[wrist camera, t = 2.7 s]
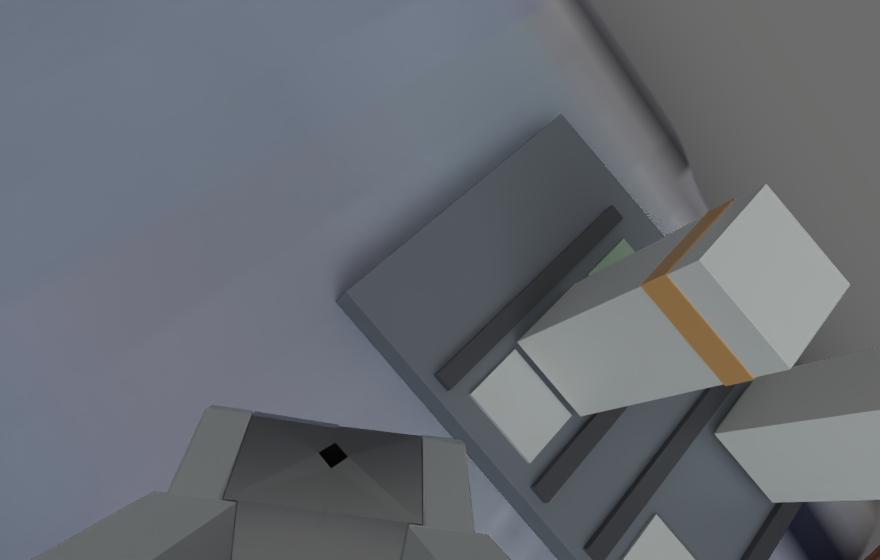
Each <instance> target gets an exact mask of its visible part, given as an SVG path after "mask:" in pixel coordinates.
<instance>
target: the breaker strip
mask: <svg viewBox="0 0 880 560" xmlns="http://www.w3.org/2000/svg"><path fill="white" fill-rule="evenodd" d="M663 237H664V236H663V235H662V233H661V232H660V231H659V230H658V229H657V227H656V226H655V225H654V224H653V223H652V221H651V220H650V219H649V218H648V217H647V216H646V214H645V213H644V212H643V211H642V210H641V208H640V207H639V206H638V205H637V204H636V202H635V201H634V200H633V199H632V198H631V197H630V195H629V194H628V193H627V192H626V191H625V189H624V188H623V187H622V186H621V185H620V183H619V182H618V181H617V180H616V179H615V177H614V176H613V175H612V174H611V173H610V172H609V170H608V169H607V168H606V167H605V166H604V164H603V163H602V162H601V161H600V160H599V158H598V157H597V156H596V155H595V154H594V152H593V151H592V150H591V149H590V148H589V147H588V145H587V144H586V143H585V142H584V141H583V139H582V138H581V137H580V136H579V135H578V133H577V132H576V131H575V130H574V129H573V128H572V126H571V125H570V124H569V123H568V122H567V120H566V119H565V118H564V117H563V116H562V114H560V115H559V116H558V117H557V118H556V119H554V120H553V121H552V122H551V123H550V124H548V125H547V126H546V127H545V128H543V129H542V130H541V131H540V132H539V133H537V134H536V135H535V136H534V137H533V138H531V139H530V140H529V141H528V142H526V143H525V144H524V145H523V146H522V147H520V148H519V149H518V150H517V151H516V152H514V153H513V154H512V155H511V156H509V157H508V158H507V159H506V160H505V161H503V162H502V163H501V164H500V165H499V166H497V167H496V168H495V169H494V170H492V171H491V172H490V173H489V174H488V175H486V176H485V177H484V178H483V179H482V180H480V181H479V182H478V183H477V184H476V185H474V186H473V187H472V188H471V189H469V190H468V191H467V192H466V193H465V194H463V195H462V196H461V197H460V198H459V199H457V200H456V201H455V202H454V203H452V204H451V205H450V206H449V207H448V208H446V209H445V210H444V211H443V212H442V213H440V214H439V215H438V216H437V217H435V218H434V219H433V220H432V221H431V222H429V223H428V224H427V225H426V226H425V227H423V228H422V229H421V230H420V231H418V232H417V233H416V234H415V235H414V236H412V237H411V238H410V239H409V240H408V241H406V242H405V243H404V244H403V245H402V246H400V247H399V248H398V249H397V250H395V251H394V252H393V253H392V254H391V255H389V256H388V257H387V258H386V259H385V260H383V261H382V262H381V263H380V264H378V265H377V266H376V267H375V268H374V269H372V270H371V271H370V272H369V273H368V274H366V275H365V276H364V277H363V278H361V279H360V280H359V281H358V282H357V283H355V284H354V285H353V286H352V287H351V288H349V289H348V290H347V291H346V292H345V293H344V294H343V295H342V296H341V297H340V298H339V299H338V300H337V301H336V302H337V303H338V305H339V306H340V307H341V308H342V309H343V310H344V312H345V313H346V314H347V315H348V316H349V317H350V319H351V320H352V321H353V322H354V323H355V324H356V326H357V327H358V328H359V329H360V330H361V331H362V332H363V334H364V335H365V336H366V337H367V338H368V339H369V341H370V342H371V343H372V344H373V345H374V346H375V348H376V349H377V350H378V351H379V352H380V353H381V355H382V356H383V357H384V358H385V359H386V360H387V361H388V363H389V364H390V365H391V366H392V367H393V368H394V370H395V371H396V372H397V373H398V374H399V375H400V377H401V378H402V379H403V380H404V381H405V382H406V384H407V385H408V386H409V387H410V388H411V389H412V390H413V392H414V393H415V394H416V395H417V396H418V397H419V399H420V400H421V401H422V402H423V403H424V404H425V406H426V407H427V408H428V409H429V410H430V411H431V413H432V414H433V415H434V416H435V417H436V418H437V420H438V421H439V422H440V423H441V424H442V425H443V426H444V428H445V429H446V430H447V431H448V432H449V433H450V435H451V436H452V437H453V438H454V439H461V440H462V441H463V442H464V443H465V447H466V453H467V454H468V455H469V457H470V458H471V459H472V460H473V461H474V462H475V464H476V465H477V466H478V467H479V468H480V469H481V471H482V472H483V473H484V474H485V475H486V476H487V478H488V479H489V480H490V481H491V482H492V483H493V484H494V486H495V487H496V488H497V489H498V490H499V491H500V493H501V494H502V495H503V496H504V497H505V498H506V500H507V501H508V502H509V503H510V504H511V505H512V507H513V508H514V509H515V510H516V511H517V512H518V513H519V515H520V516H521V517H522V518H523V519H524V520H525V522H526V523H527V524H528V525H529V526H530V527H531V529H532V530H533V531H534V532H535V533H536V534H537V536H538V537H539V538H540V539H541V540H542V541H543V542H544V544H545V545H546V546H547V547H548V548H549V549H550V551H551V552H552V553H553V554H554V555H555V556H556V558H557V559H558V560H768V559H769V557H770V556H771V554H772V553H773V551H774V549H775V548H776V546H777V544H778V543H779V541H780V540H781V538H782V536H783V535H784V533H785V531H786V530H787V528H788V527H789V525H790V523H791V522H792V520H793V518H794V517H795V515H796V514H797V512H798V510H799V509H800V507H801V505H802V504H803V502H818V501H856V500H880V347H876V348H872V349H868V350H864V351H859V352H855V353H850V354H846V355H842V356H837V357H833V358H828V359H824V360H820V361H815V362H811V363H806V364H802V365H798V366H793V367H792V368H791V369H790V370H785V371H781V372H776V373H772V374H768V375H763V376H759V377H756V378H755V379H754V380H752V381H747V382H743V383H738V384H734V385H729V386H725V385H724V384H723V385H719V386H714V387H710V388H705V389H701V390H696V391H692V392H688V393H683V394H679V395H674V396H670V397H665V398H661V399H656V400H652V401H647V402H643V403H639V404H634V405H630V406H625V407H621V408H616V409H612V410H607V411H603V412H599V413H594V414H590V415H585V416H581V417H580V415H579V414H578V413H577V412H576V411H575V410H574V408H573V407H572V406H571V405H570V404H569V403H568V401H567V400H566V399H565V398H564V397H563V396H562V394H561V393H560V392H559V391H558V390H557V389H556V387H555V386H554V385H553V384H552V383H551V381H550V380H549V379H548V378H547V377H546V376H545V374H544V373H543V372H542V371H541V370H540V369H539V367H538V366H537V365H536V364H535V363H534V362H533V360H532V359H531V358H530V357H529V356H528V355H527V353H526V352H525V351H524V350H523V349H522V348H521V346H520V345H519V344H518V343H517V341H518V340H519V339H520V338H521V337H522V336H523V335H524V334H525V333H526V332H527V331H528V330H529V329H530V328H531V327H532V326H533V325H534V324H535V323H536V322H537V321H538V320H539V319H540V318H541V317H542V316H543V315H544V314H545V313H546V312H547V311H548V310H549V309H550V308H551V307H552V306H553V305H554V304H555V303H556V302H557V301H558V300H559V299H560V298H561V297H562V296H563V295H564V294H565V293H566V292H567V291H568V290H569V289H570V288H571V287H572V286H573V285H574V284H575V283H577V282H579V281H581V280H583V279H585V278H587V277H588V276H590V275H592V274H594V273H596V272H598V271H600V270H602V269H604V268H606V267H608V266H610V265H612V264H613V263H615V262H617V261H619V260H621V259H623V258H625V257H627V256H629V255H631V254H633V253H635V252H636V251H638V250H640V249H642V248H644V247H646V246H648V245H650V244H652V243H654V242H656V241H658V240H659V239H661V238H663Z"/></svg>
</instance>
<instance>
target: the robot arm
mask: <svg viewBox="0 0 880 560" xmlns="http://www.w3.org/2000/svg"><path fill="white" fill-rule="evenodd" d="M32 560H511V559H510V558H509V557H508V556H507V555H506V554H505V553H504V552H503V551H502V550H501V549H500V548H499V546H498V545H497V544H496V543H495V542H494V541H493V540H492V539H491V538H490V537H489V536H488V535H487V534H481V533H475V531H474V522H473V513H472V503H471V494H470V484H469V475H468V466H467V456H466V447H465V443H464V442H463V441H462V440H461V439H451V438H442V437H432V436H423V435H421V436H416V435H408V434H400V433H392V432H384V431H375V430H367V429H359V428H351V427H343V426H338V425H337V424H330V423H324V422H318V421H312V420H306V419H299V418H293V417H287V416H281V415H275V414H268V413H262V412H256V411H255V412H254V413H253V412H252V411H251V410H243V409H236V408H229V407H221V406H214V405H211V406H210V407H209V408H207V409H206V410H205V411H204V413H203V416H202V418H201V420H200V422H199V424H198V426H197V429H196V431H195V433H194V435H193V437H192V439H191V441H190V444H189V446H188V448H187V450H186V452H185V454H184V457H183V459H182V461H181V463H180V465H179V467H178V470H177V472H176V474H175V476H174V478H173V480H172V483H171V485H170V487H169V489H168V491H167V493H162V492H151V493H150V494H148V495H146V496H144V497H142V498H141V499H139V500H137V501H135V502H133V503H132V504H130V505H128V506H126V507H125V508H123V509H121V510H119V511H117V512H116V513H114V514H112V515H110V516H108V517H107V518H105V519H103V520H101V521H99V522H98V523H96V524H94V525H92V526H91V527H89V528H87V529H85V530H83V531H82V532H80V533H78V534H76V535H74V536H73V537H71V538H69V539H67V540H65V541H64V542H62V543H60V544H58V545H57V546H55V547H53V548H51V549H49V550H48V551H46V552H44V553H42V554H40V555H39V556H37V557H35V558H33V559H32Z"/></svg>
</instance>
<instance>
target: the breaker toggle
mask: <svg viewBox="0 0 880 560" xmlns="http://www.w3.org/2000/svg"><path fill="white" fill-rule="evenodd" d="M849 286H850V284H849V283H848V281H847V280H846V279H845V278H844V276H843V275H842V274H841V273H840V272H839V270H838V269H837V268H836V267H835V266H834V265H833V263H832V262H831V261H830V260H829V258H828V257H827V256H826V255H825V254H824V252H823V251H822V250H821V249H820V248H819V246H818V245H817V244H816V243H815V242H814V240H813V239H812V238H811V237H810V236H809V234H808V233H807V232H806V231H805V230H804V229H803V227H802V226H801V225H800V224H799V222H798V221H797V220H796V219H795V218H794V216H793V215H792V214H791V213H790V212H789V210H788V209H787V208H786V207H785V206H784V204H783V203H782V202H781V201H780V200H779V198H778V197H777V196H776V195H775V194H774V192H773V191H772V190H771V189H770V188H769V186H768V185H767V184H765V185H763V186H761V187H759V188H757V189H755V190H753V191H752V192H750V193H748V194H746V195H744V196H742V197H740V198H738V199H736V200H733V199H732V200H730V201H728V202H727V203H724V204H723V205H721V206H719V207H717V208H715V209H713V210H711V211H709V212H707V213H706V215H705V216H704V217H702V218H700V219H698V220H696V221H694V222H692V223H690V224H688V225H686V226H684V227H683V228H681V229H679V230H677V231H675V232H673V233H671V234H669V235H667V236H665V237H663V238H661V239H659V240H658V241H656V242H654V243H652V244H650V245H648V246H646V247H644V248H642V249H640V250H638V251H636V252H635V253H633V254H631V255H629V256H627V257H625V258H623V259H621V260H619V261H617V262H615V263H613V264H612V265H610V266H608V267H606V268H604V269H602V270H600V271H598V272H596V273H594V274H592V275H590V276H588V277H587V278H585V279H583V280H581V281H579V282H577V283H575V284H574V285H573V286H572V287H571V288H570V289H569V290H568V291H567V292H566V293H565V294H564V295H563V296H562V297H561V298H560V299H559V300H558V301H557V302H556V303H555V304H554V305H553V306H552V307H551V308H550V309H549V310H548V311H547V312H546V313H545V314H544V315H543V316H542V317H541V318H540V319H539V320H538V321H537V322H536V323H535V324H534V325H533V326H532V327H531V328H530V329H529V330H528V331H527V332H526V333H525V334H524V335H523V336H522V337H521V338H520V339H519V340H518V341H517V343H518V344H519V345H520V346H521V348H522V349H523V350H524V351H525V352H526V353H527V355H528V356H529V357H530V358H531V359H532V360H533V362H534V363H535V364H536V365H537V366H538V367H539V369H540V370H541V371H542V372H543V373H544V374H545V376H546V377H547V378H548V379H549V380H550V381H551V383H552V384H553V385H554V386H555V387H556V389H557V390H558V391H559V392H560V393H561V394H562V396H563V397H564V398H565V399H566V400H567V401H568V403H569V404H570V405H571V406H572V407H573V408H574V410H575V411H576V412H577V413H578V414H579V415H580V417H581V416H585V415H590V414H594V413H599V412H603V411H607V410H612V409H616V408H621V407H625V406H630V405H634V404H639V403H643V402H647V401H652V400H656V399H661V398H665V397H670V396H674V395H679V394H683V393H688V392H692V391H696V390H701V389H705V388H710V387H714V386H719V385H723V384H724V385H725V386H729V385H734V384H738V383H743V382H747V381H752V380H754V379H755V378H756V377H759V376H763V375H768V374H772V373H776V372H781V371H785V370H790V369H791V368H792V367H793V365H794V364H795V362H796V361H797V359H798V358H799V357H800V355H801V354H802V352H803V351H804V350H805V348H806V347H807V345H808V344H809V342H810V341H811V340H812V338H813V337H814V335H815V334H816V332H817V331H818V330H819V328H820V327H821V325H822V324H823V322H824V321H825V320H826V318H827V317H828V316H829V314H830V313H831V311H832V310H833V308H834V307H835V306H836V304H837V303H838V301H839V300H840V299H841V297H842V296H843V294H844V293H845V291H846V290H847V289H848V287H849Z"/></svg>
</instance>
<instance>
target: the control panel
mask: <svg viewBox="0 0 880 560" xmlns="http://www.w3.org/2000/svg"><path fill="white" fill-rule="evenodd" d="M864 560H880V546H878V547H877V548H876V549H875V550H874V551H873V552H872V553H871V554H870V555H869V556H868V557H867V558H865V559H864Z"/></svg>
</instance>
